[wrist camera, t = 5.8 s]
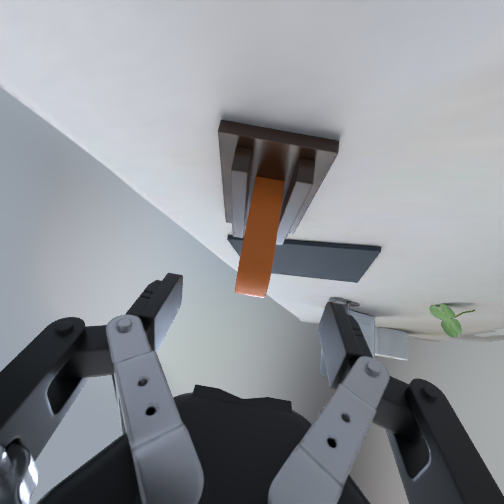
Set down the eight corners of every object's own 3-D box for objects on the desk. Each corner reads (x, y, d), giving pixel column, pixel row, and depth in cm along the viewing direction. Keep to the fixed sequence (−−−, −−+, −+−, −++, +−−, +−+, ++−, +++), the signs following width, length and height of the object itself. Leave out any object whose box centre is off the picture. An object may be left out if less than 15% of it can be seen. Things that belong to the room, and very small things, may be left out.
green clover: (454, 285, 55) (427, 297, 55) (493, 305, 48) (461, 319, 48) (455, 310, 58) (429, 321, 58) (492, 333, 51) (462, 346, 51)
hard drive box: (323, 307, 82) (318, 375, 75) (342, 307, 75) (339, 381, 69) (356, 316, 88) (354, 380, 82) (376, 317, 82) (375, 385, 76)
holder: (220, 119, 17) (211, 156, 16) (339, 140, 17) (336, 179, 16) (227, 214, 30) (222, 238, 29) (294, 226, 30) (291, 250, 29)
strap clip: (327, 297, 66) (326, 314, 65) (336, 296, 63) (335, 314, 62) (351, 304, 69) (351, 320, 68) (361, 304, 67) (360, 320, 65)
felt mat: (380, 247, 32) (380, 251, 31) (357, 279, 46) (357, 282, 46) (227, 235, 36) (227, 239, 36) (250, 268, 51) (250, 270, 51)
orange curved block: (255, 175, 21) (234, 285, 18) (285, 180, 21) (269, 291, 18) (251, 210, 26) (234, 297, 23) (274, 214, 26) (261, 302, 23)
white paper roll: (364, 325, 108) (363, 352, 105) (407, 330, 100) (407, 360, 96) (369, 330, 120) (369, 354, 117) (408, 334, 112) (408, 361, 109)
